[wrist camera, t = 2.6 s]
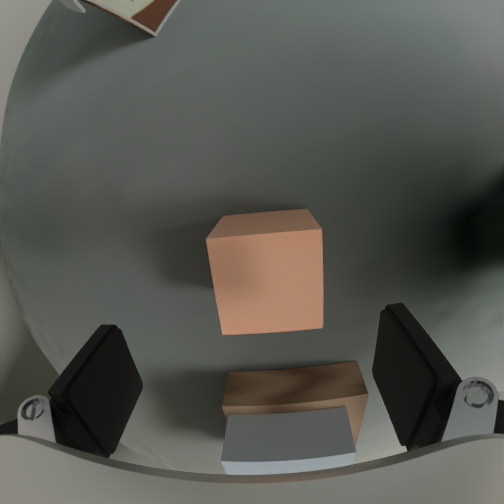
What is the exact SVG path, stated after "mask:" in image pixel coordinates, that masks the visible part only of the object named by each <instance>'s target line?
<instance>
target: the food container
mask: <svg viewBox="0 0 504 504" xmlns="http://www.w3.org/2000/svg"><path fill="white" fill-rule="evenodd" d="M59 1H60V2H61V3H62V4H63V5H64V6H65V7H66V8H69V9H71V10H73V11H76V12H81V13H85V12H86V10H85V9H84V8H83V6H82V5H81V4H80V3H79V2H78V0H59ZM81 1H84V2H86V3H88V4H90V5H92V6H95V7H97V8H99V9H101V10H103V11H105V12H107V13H109V14H111V15H113V16H115V17H117V18H119V19H121V20H123V21H125V22H127V23H129V24H131V25H132V26H134V27H136V28H138V29H140V30H141V31H143V32H145V33H147V34H150V35H153V36H155V37H156V36H157V34H158V33H159V31H160V30H161V28H162V26H163V25H164V23H165V22H166V20H167V19H168V17H169V16H170V15H171V13H172V12H173V10H174V9H175V7H176V6H177V5H178V3H179V2H180V0H81Z"/></svg>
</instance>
